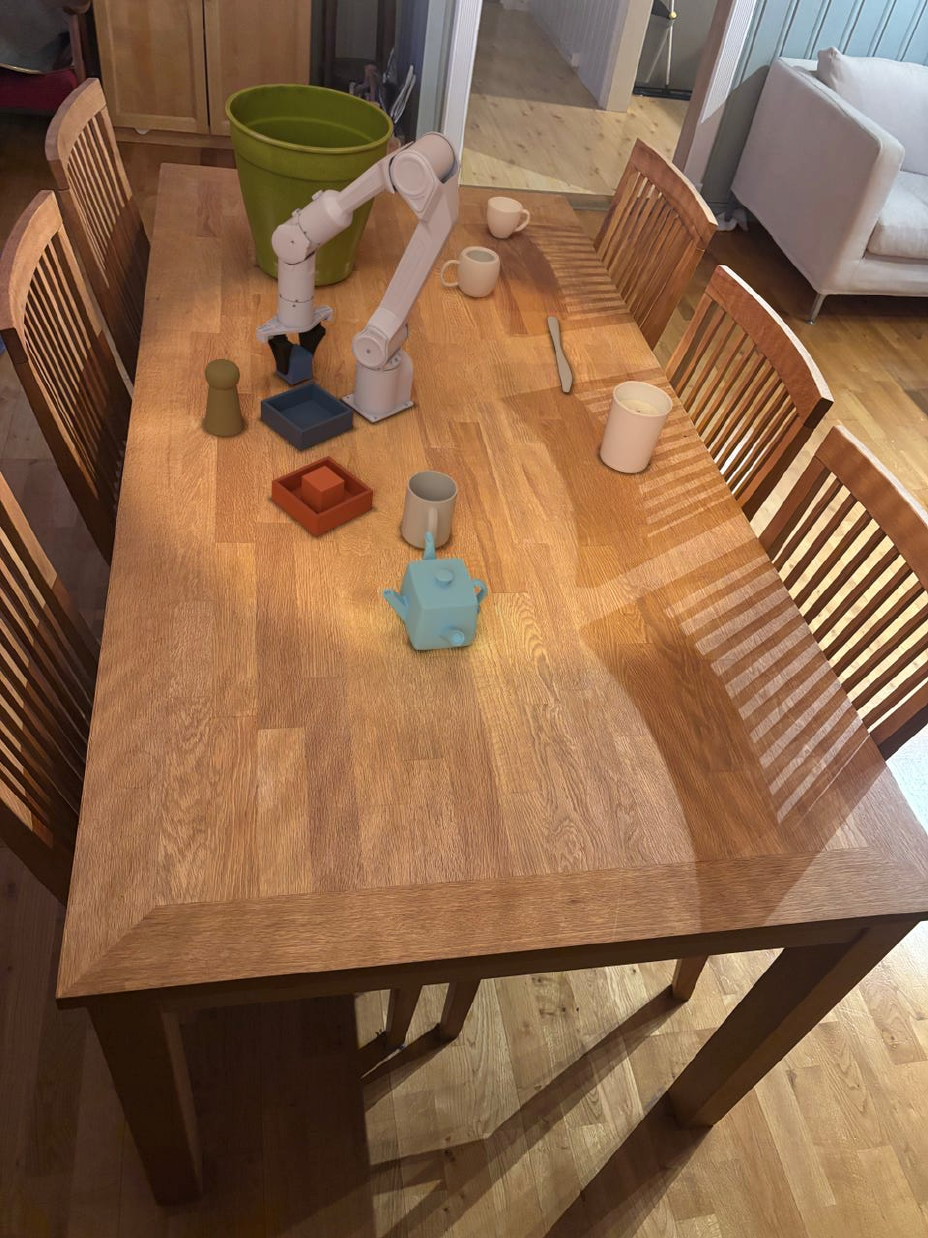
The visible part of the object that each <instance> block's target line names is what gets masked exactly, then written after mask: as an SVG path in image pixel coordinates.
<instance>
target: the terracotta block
mask: <svg viewBox="0 0 928 1238" xmlns="http://www.w3.org/2000/svg"><path fill="white" fill-rule="evenodd" d="M344 483H345V481H344V480H343V479H342V478H340V477H339V476H338V475H336V474H335V473H334V472H333V471H331V470H330V469H329V468H328V467H326V466H323V467H321V468H319V469H317V470H315V471H312V472H310V473H308V474H306V475H303V476H302V488H301V500H302V501H303V502H305V503H306V504H307V505H308V506H309V507H311V508H312V509H313V510H314V511H316V512H317V513H318V514H320V513H322V512H324V511H326V510H328V509H330V508H332V507H334V506H336V505H338V504H340V503H342V502H343V496H344Z"/></svg>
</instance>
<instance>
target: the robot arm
mask: <svg viewBox="0 0 928 1238" xmlns="http://www.w3.org/2000/svg"><path fill="white" fill-rule="evenodd" d="M461 169H462V163H461V161H460V159H459V156H458V153H457V151H456V148H455V147H454V144H453V142H452V140H450V139H449V137H447V136H446V135H445V134H443V133H441V132H438V131H428V132H426V133H424V134H422V135H421V136H420V137H419V138H418V139H417V140H416V141H414V140H413V141H410V142H408V143H406V144H405V145H403V146H401V147H399V148H397V149H396V150H393V151H392V152H390V153H388V154H386V156H385V157H384V158H382V159H381V160H380V161H378V162H377V163H376V164H374V165H373V166H372V167H371V168H369V169H368V170H367V171H366V172H365V173H363V174H362V175H361V176H360V177H359V178H357V179H356V180H355V181H354V182H352V183H351V184H350V185H349V186H348V187H346V188H345V189H344V190H343V191H341V192H338V191H335V190H327V191H325V192H324V193H323V192H322V190H320V191H318V192H317V193H316V194H314V195H313V196H312V199H313V200H314V201H312V202H311V203H310V204H308V205H307V206H306V207H305V208H303V209H302V210H300V209H299V208H298V209H297V210H295V211H294V212H293V213H292V216H293V217H292V218H291V219H289V220H288V221H287V222H285V223H284V224H282V225H279V226H278V227H277V229H276V230H275V231H274V233H273V235H272V246H273V249H274V251H275V253H276V255H277V256H278V279H277V309H276V312H275V314H276V315H275V316H273V317H272V318H270V319H269V320H268V321H266V322H265V323H264V324H262V325H259V326H258V327H256V328H255V339H256V340H257V341H258V342H260V343H261V344H263V345H264V344H268V346H269V348H270V350H271V353H272V355H273V358H274V363H275V367H276V366H277V370H278V371H279V372H280V373H282V374H283V375H288V371H289V361H290V355H291V351H292V348H293V346H294V344H295V343H293V342H292V341H291V340H289V336H287V335H291V334H298V343H299V344H298V345H300V346H301V347H303V348H304V349H305V350H307V351H308V352H310V353H311V354H312V355H313V358H314V357H315V354H316V351H317V349H318V347H319V345H320V343H321V341H322V340H323V339H324V338H325V336H326V335H327V329H326V327H325V326H323V325H322V322H324V321H326V322H332V321H333V320H334V309H333V308H331V307H330V306H328V305H327V304H324V305H319V306H314V305H315V286H314V282H315V258H316V251H317V250H318V249H319V248H320V247H321V246H322V245H323V244H325V243H326V242H327V241H329V240H330V239H332V238H333V237H334V236H336V235H337V234H338V233H340V232H341V231H343V230H344V229H345V228H347V227H348V226H349V225H350V224H351V222H352V218H353V211H354V210H355V209H357V208H358V207H359V206H361V205H362V204H364V203H365V202H367V201H368V200H370V199H371V198H373V197H374V196H375V197H376V196H378V194H380V193H381V192H383V191H386V192H388V193H390V194H392V195H396V194H397V193H399V194H400V195H401V197H402V198H403V200H404V201H405V203H407V205H408V206H409V207H410V209H411V211H413V213H414V214H415V215H416V217H417V219H418V223H417V225H416V227H415V230H414V231H413V234H412V235H411V238H410V240H409V242H408V244H407V247H406V248H405V250H404V252H403V255H402V257H401V259H400V261H399V263H398V265H397V267H396V269H395V271H394V273H393V275H392V278H391V279H390V282H389V283H388V286H387V288H386V290H385V292H384V294H383V297H381V301H380V302H379V304H378V306H377V308H376V309H375V311H373V314H372V315H371V316H370V318H369V319H368V321H367V323H366V324H365V327H364V328H362V330H360V331H359V332H357V333H356V334H355V335H354V336H353V337H352V339H351V344H350V345H351V352H352V354H353V357H354V359H355V360H356V362H355V373H354V374H355V375H354V386H353V387H354V388H353V392H352V393H350V394H348V395H345V396H343V397H342V398H341V402H343V403H344V404H345V405H347V406H348V407H349V408H351V409H352V410H353V411H356V412H357V413H359V415H362V417H364V418H365V419H367V420H368V421H369V422H371V423H376V422H378V421H382V420H383V419H385V418H387V417H390V416H393V415H395V414H397V413H399V412H401V411H404V410H406V409H409V408H410V407H413V406H414V402H413V401H412V400H411V397H412V396H411V395H412V389H413V381H414V372H415V370H414V369H415V368H414V364H413V360H412V358H411V357H410V355H409V354H408V352H407V351H406V350H404V349H403V348H402V345H404V343H406V342H407V340H408V339H409V336H410V333H411V331H410V325H411V321H412V318H413V317H414V314H413V311H414V308H415V306H416V304H417V302H418V300H419V298H420V297H421V295H422V292H423V291H424V288H425V287H426V285H427V283H428V281H429V279H430V278H431V275H432V273H433V271H434V269H435V267H436V265H437V263H438V261H439V259H440V257H441V256H442V254H443V251H444V250H445V248H446V246H447V243H448V242H449V240H450V238H451V236H452V234H453V232H454V230H455V228H456V226H457V224H458V223H459V219H460V196H459V195H460V194H459V193H460V192H459V191H460V189H459V178H460V174H461ZM375 197H374V198H375Z"/></svg>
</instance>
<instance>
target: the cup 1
mask: <svg viewBox="0 0 928 1238" xmlns="http://www.w3.org/2000/svg"><path fill="white" fill-rule="evenodd" d="M405 489H406V490H405V497H404V502H403V503H404V505H403V511H402V519H401V526H400V527H401V528H400V531H401V535H402V536H403V538H404V540H405V541H406V542H407V543H408V544H409V545H411V546H413V547H415V548H418V549H422V550H425V533H426V532H430V533H431V534H432V536H433V538H434V544H435V549H438V548H439V547H442V546H443V545H445V544H446V543H447V542H448V540H449V538H450V535H451V531H452V526H453V525H452V524H453V520H454V519H453V518H454V513H455V508H456V503H457V499H458V498H457V496H458V490H459V487H458V484H457V482H456V481H455V479H453V478H452V477H451V476H449V475H448V474H446V473H443V472H441V471H437V470H429V469H428V470H426V469H425V470H420V471H417V472H414V473H412V474H411V475H410V476H409V477H408V479H407V482H406V488H405Z"/></svg>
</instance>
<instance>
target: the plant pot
mask: <svg viewBox="0 0 928 1238" xmlns="http://www.w3.org/2000/svg"><path fill="white" fill-rule="evenodd" d="M224 109H225V110H224V111H225V115H226V117H227V119H228V120H229V121H228V122H229V130H230V132H229V133H230V142H231V145H232V147H233V152H234V161H235V165H236V166H235V167H236V172H237V177H238V181H239V186H240V191H241V196H242V200H243V205H244V209H245V214H246V217H247V222H248V224H249V228H250V231H251V236H252V238H253V241H254V245H255V247H254V248H255V259H256V260H255V261H256V262H257V264H258V266H259V268H261V270H263V271H264V272H265V273H266V274H268V275H269V276H270V277H273V278H275V279H277V280H278V256H277V255H276V253H275V251H274V249H273V246H272V235H273V233H274V231H275V230H276V229H277V227H278V226H279V225H282V224H284V223H285V222H287V221H288V220H289V219H291V218H292V217H293V216H292V213H293V212H294V211H295V210H297V209H298V208H299V209H300V210H302V209H303V208H305V207H306V206H307V205H308V204H310V203H311V202H312V201H314V200H313V199H312V196H313V195H314V194H316V193H317V192H318V191H320V190H322V192H323V193H324V192H325V191H327V190H335V191H338V192H341V191H343V190H344V189H345V188H346V187H348V186H349V185H350V184H351V183H352V182H354V181H355V180H356V179H357V178H359V177H360V176H361V175H362V174H363V173H365V172H366V171H367V170H368V169H369V168H371V167H372V166H373V165H374V164H376V163H377V162H378V161H380V160H381V159H382V158H384V157H385V156H387V152H388V145H389V141H390V139H391V138H392V135H393V132H394V122H393V120H392V118H391V117H390V116H389V115H388V113H387V112H386V111H384V110H383V109H382V108H380V107H379V106H377V105H376V104H374V103H372V102H370V101H368V100H367V99H364V98H361V97H359V96H357V95H354V94H350V93H347V92H345V91H340V90H337V89H333V88H327V87H323V86H318V85H317V86H316V85H308V84H297V83H270V84H262V85H254V86H250V87H247V88H244V89H243V88H242V89H240V90H239V91H236V92H235V93H233V94H232V95H230V96H229V97H228V98H227V100H226V102H225V104H224ZM375 197H376V196H374V197H373V198H371V199H370V200H368V201H367V202H365V203H364V204H362V205H361V206H359V207H358V208H357V209H355V210H354V211H353V218H352V222H351V224H350V225H349V226H348V227H347V228H345V229H344V230H343V231H341V232H340V233H338V234H337V235H336V236H334V237H333V238H332V239H330V240H329V241H327V242H326V243H325V244H323V245H322V246H321V247H320V248H319V249H318V250H317V251H316V258H315V282H314V287H321V286H322V287H323V286H329V285H332V284H336V283H339V282H341V281H343V280H345V279H346V278H348V277H349V276H350V275H351V273H352V271H353V270H354V264H355V256H356V252H357V251H358V248H359V246H360V243H361V241H362V238H363V235H364V232H365V229H366V226H367V223H368V221H369V217H370V214H371V211H372V208H373V204H374V201H375Z"/></svg>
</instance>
